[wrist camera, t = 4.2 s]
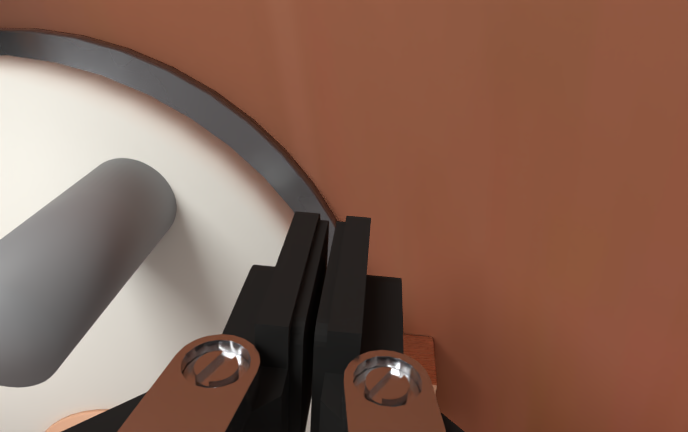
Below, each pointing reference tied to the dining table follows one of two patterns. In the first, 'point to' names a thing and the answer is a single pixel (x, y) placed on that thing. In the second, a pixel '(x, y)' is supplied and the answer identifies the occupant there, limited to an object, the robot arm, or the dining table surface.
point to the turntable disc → (113, 241)
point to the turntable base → (204, 111)
